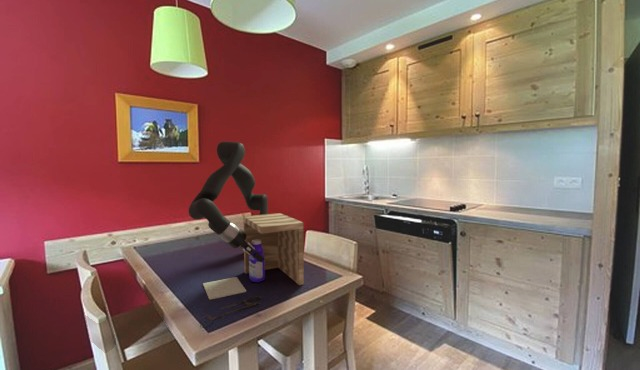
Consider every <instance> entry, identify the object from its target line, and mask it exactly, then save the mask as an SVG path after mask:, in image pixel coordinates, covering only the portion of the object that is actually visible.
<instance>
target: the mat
mask: <svg viewBox="0 0 640 370" xmlns="http://www.w3.org/2000/svg"><path fill="white" fill-rule="evenodd" d="M202 286H203V288H204V291H205V292H206V294H207V297H208V300H215V299H220V298H225V297H228V296H233V295H238V294H242V293H246V292H247V289H246V288H245V287H244V285H243V283H241V280H239V278H238V277H237V276H234V277H229V278H224V279H219V280H214V281H208V282H203V283H202Z"/></svg>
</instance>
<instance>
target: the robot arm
mask: <svg viewBox="0 0 640 370" xmlns="http://www.w3.org/2000/svg"><path fill="white" fill-rule="evenodd" d="M216 154H217V157H218V159H219V160H220V162H221V163H222V166H220V167H219V168H218V169H216V170H215V171H213V173H211V174H210V175H209V176H208V177H207V178H206V181H205V182H204V184H203V186H202V188H201V190H200V191H199V192H198V194H197V195H196V196H195V198H194V199H193V200H192V201H191V203H190V204H189V207H188V214H189V216H190V218H192V219H193V220H203V219H204V218H205V220H207V221H208V224H207V225H208V228H210V229H211V230H212V231H213V232H214V233H215V234H217V236H218V237H220V239H222V240H223V241H224V242H226V243H227V244H228V245H229V246H230V247H231V248H232V249H237V248H240V249H241V250H242V251H243V252H244V251H245V252H247V253H248V254H249V255H252V256H253V257H254V258H256V259H257V260H259V261H260V262H263V260H264V257H262V256H261V255H260V254H259V252H257V251H256V250H255V248H254V247H253V246H252V245H251V244H250V243H249V242H248V241H247V240H246V241H245V239H246V236H247V235H246V234H245V233H244V230H242V229H241V228H240V227H239V226H237V225H236V224H235V223H233V222H232V221H231V220H229V219H228V218H227V217H226V216H224V214H222V212H221V210H220V208H219V207H218V206H217V205H216V203H214V202H215V200H217V199H218V197H219V196H220V194H221V192H222V190H223V188H224V186H225V184H226V182H227V181H228V179H229V178H230V177H232V179H233V180H234V183H235V184H236V186H237V188H238V189H239V191H240V192H241V194H242V197H243V199H244V201H245V204H246V206H247V208H248V209H249V210H251V211H259V214H258V215H264V214H268V209H269V205H268V204H269V200H268V196H267V194H265V193H264V194H263V193H258V194H256V193H253V192H252V191H253V189H255V185H256V179H255V177H254V175H253V174H252V172H251V170H250V169H249V168H247V167H246V166H245V165H243V164H242V161H243V160H244V158H245V154H246V149H245V146H244V144H243V143H241V142H238V141H220V142H218V144H217V146H216ZM254 252H256V253H255V254H254V255H253V253H254Z"/></svg>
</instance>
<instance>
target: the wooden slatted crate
mask: <svg viewBox="0 0 640 370" xmlns="http://www.w3.org/2000/svg"><path fill="white" fill-rule="evenodd" d="M242 219H243V223H242V224H243V232H244V233H245V234H246V235H247V236H246V239H245V241H246V240H247V241H248V242H249V243H250V244H251V245H252V240H256V239H258V240H261V246H262V249H263V254H264V258H265V259H264V260H265V271H267V270H271V269H276V268H277V269H279V270H280V271H282V272H283V273H284V274H285V275H287V276H288V277H289V278H290V279H291V280H292V281H294V282H295V283H296V284H297V285H299V286H303V285H304V282H305V279H304V276H305V274H304V273H305V271H304V270H305V269H304V268H305V267H304V266H305V264H304V263H305V262H304V257H305V256H304V254H305V253H304V249H305V248H304V222H303V221H301V220H298V219H296V218H293V217H291V216H288V215H286V214H284V213H281V212H278V213H267V214H264V215H259V214H257V215H245V216H244V215H243V217H242ZM243 254H244V255H243V257H244V258H243V260H244V261H243V264H244V274H249V254H248V253H247V252H245V251H243Z"/></svg>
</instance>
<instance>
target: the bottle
mask: <svg viewBox="0 0 640 370" xmlns="http://www.w3.org/2000/svg"><path fill="white" fill-rule="evenodd" d="M252 246H253V247H254V248H255V250H256V251H257V252H259V254H260V255H261V256H262V257H264V254H263V249H262V246H261V240H258V239H256V240H252ZM255 253H256V252H254V253H253V255H254V254H255ZM264 259H265V258H264ZM248 274H249V275H248V277H249V280H250V281H251V282H254V283H260V282H263V281H265V277H266V275H265V274H266V270H265V260H263V262H260V261H259V260H257V259H256V258H254V257H253V256H252V255H249V273H248Z"/></svg>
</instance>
